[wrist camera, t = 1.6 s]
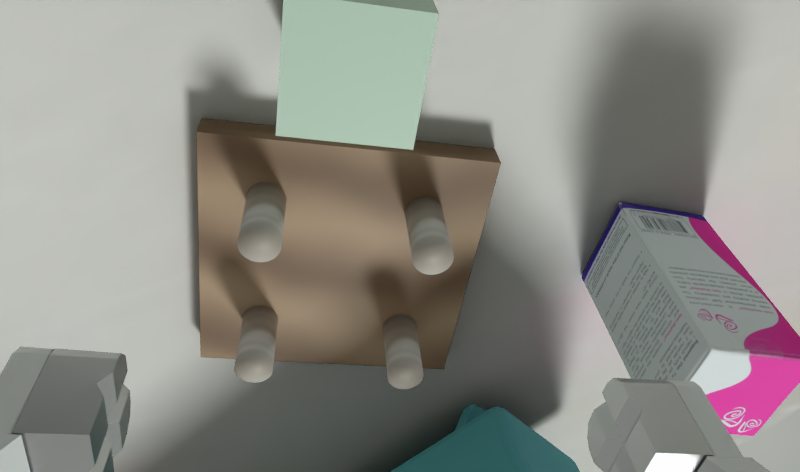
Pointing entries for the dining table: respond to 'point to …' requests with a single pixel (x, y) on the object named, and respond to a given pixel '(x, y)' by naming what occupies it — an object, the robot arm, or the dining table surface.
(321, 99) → the sage block
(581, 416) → the dining table surface
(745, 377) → the supplement box
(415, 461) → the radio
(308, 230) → the peg board
